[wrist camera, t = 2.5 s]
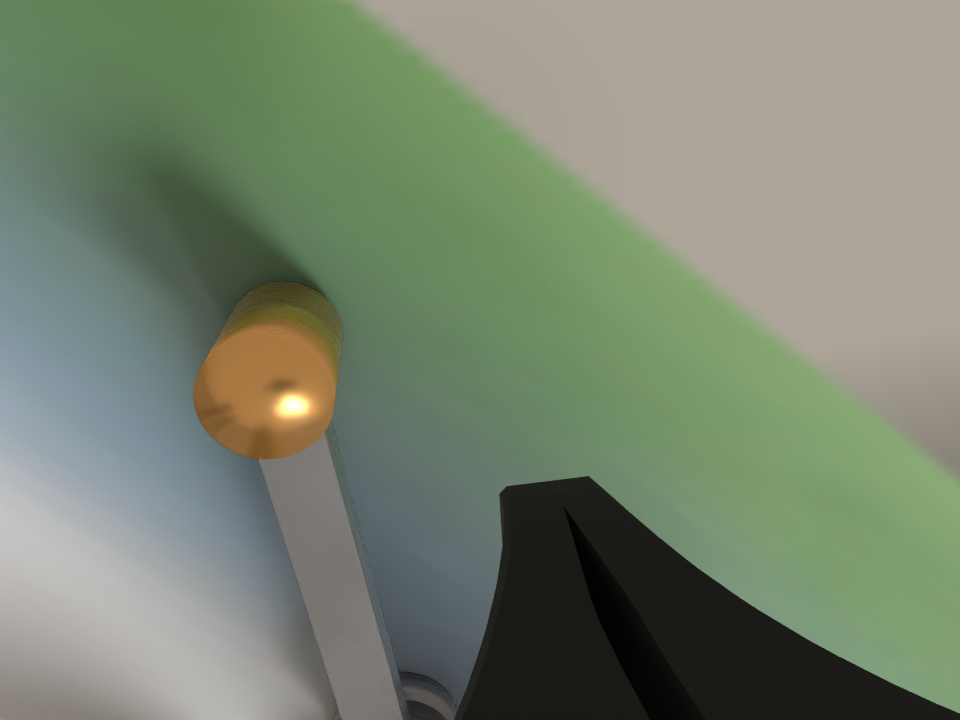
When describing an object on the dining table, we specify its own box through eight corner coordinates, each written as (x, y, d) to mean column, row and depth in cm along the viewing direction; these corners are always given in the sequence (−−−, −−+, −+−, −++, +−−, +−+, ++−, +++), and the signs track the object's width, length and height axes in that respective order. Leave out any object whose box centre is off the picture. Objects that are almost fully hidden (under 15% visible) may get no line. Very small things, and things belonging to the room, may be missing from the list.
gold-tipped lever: (458, 752, 25) (472, 880, 21) (353, 774, 25) (348, 908, 21) (345, 269, 18) (334, 329, 14) (197, 295, 18) (146, 364, 14)
